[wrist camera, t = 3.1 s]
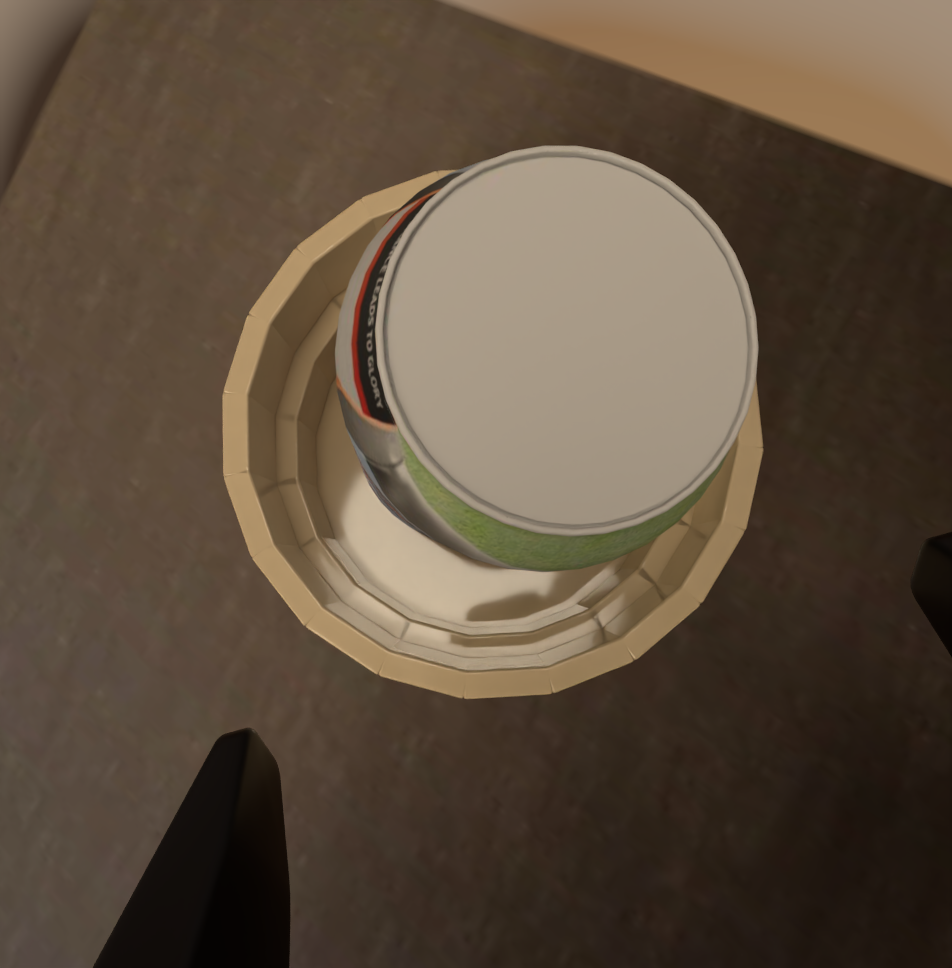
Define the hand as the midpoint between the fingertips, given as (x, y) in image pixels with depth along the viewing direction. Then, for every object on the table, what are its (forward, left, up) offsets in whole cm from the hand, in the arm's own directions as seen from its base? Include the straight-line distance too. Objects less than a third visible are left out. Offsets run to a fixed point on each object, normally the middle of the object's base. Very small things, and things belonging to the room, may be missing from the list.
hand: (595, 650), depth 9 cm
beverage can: (+4, -2, -11) cm, 12 cm away
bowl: (+4, -2, -11) cm, 12 cm away
